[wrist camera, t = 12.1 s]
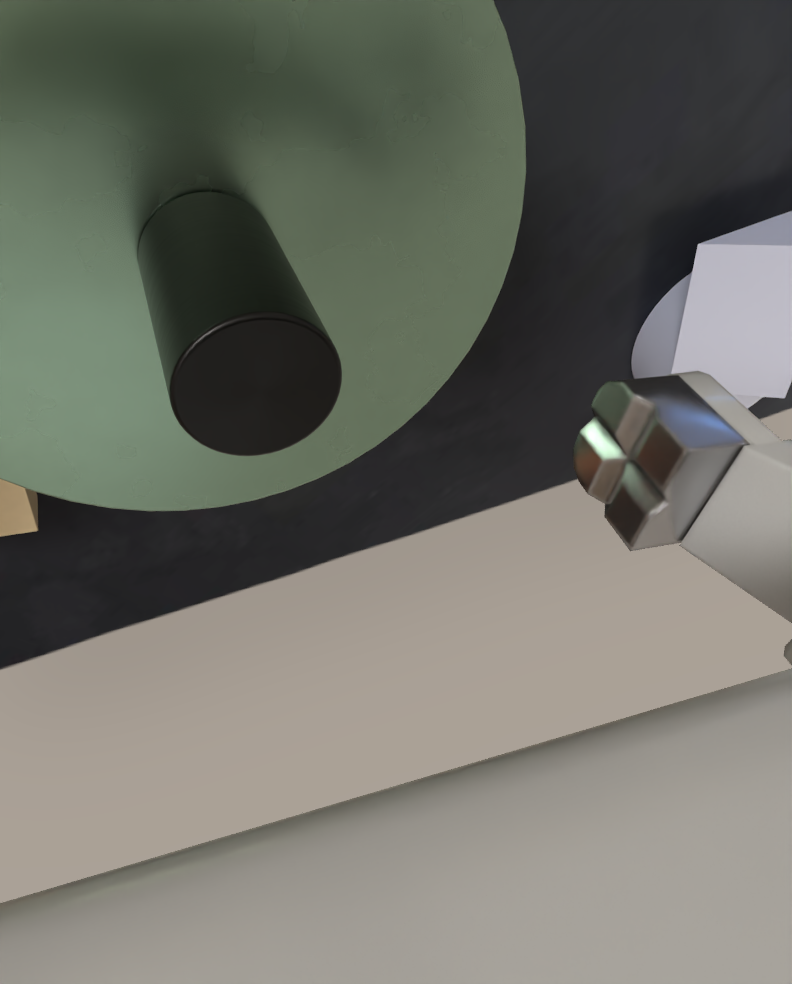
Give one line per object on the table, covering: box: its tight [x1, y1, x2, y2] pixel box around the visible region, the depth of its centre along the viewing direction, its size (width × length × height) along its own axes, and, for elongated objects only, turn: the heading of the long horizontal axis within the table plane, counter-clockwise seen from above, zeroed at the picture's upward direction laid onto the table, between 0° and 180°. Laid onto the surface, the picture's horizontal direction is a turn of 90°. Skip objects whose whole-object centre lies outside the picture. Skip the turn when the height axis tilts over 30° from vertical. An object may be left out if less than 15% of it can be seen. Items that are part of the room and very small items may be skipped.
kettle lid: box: [0, 0, 526, 511], centre depth 11 cm, size 12×12×5 cm
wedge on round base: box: [631, 211, 792, 408], centre depth 36 cm, size 9×7×13 cm
